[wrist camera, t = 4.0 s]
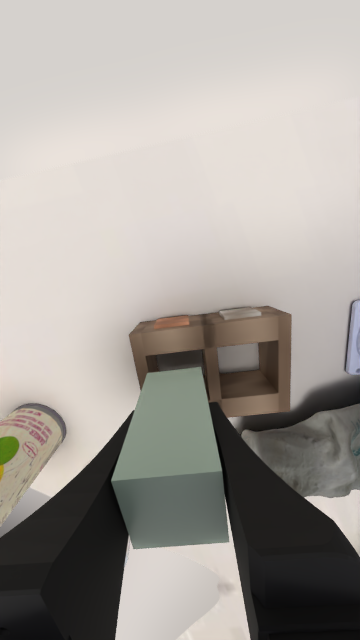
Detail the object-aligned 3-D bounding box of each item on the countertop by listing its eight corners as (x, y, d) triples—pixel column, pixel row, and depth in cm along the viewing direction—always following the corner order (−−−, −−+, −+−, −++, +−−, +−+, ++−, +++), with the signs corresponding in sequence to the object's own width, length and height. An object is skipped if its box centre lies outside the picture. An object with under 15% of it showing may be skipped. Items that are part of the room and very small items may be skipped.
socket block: (267, 303, 18) (291, 310, 14) (269, 384, 20) (289, 411, 16) (139, 319, 18) (128, 331, 14) (154, 397, 21) (148, 425, 17)
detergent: (439, 367, 19) (208, 388, 20) (583, 426, 12) (224, 456, 13) (402, 452, 23) (212, 468, 24) (495, 531, 17) (227, 552, 17)
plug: (201, 366, 13) (222, 470, 6) (206, 411, 14) (229, 542, 7) (147, 373, 13) (111, 480, 6) (156, 416, 14) (133, 549, 7)
